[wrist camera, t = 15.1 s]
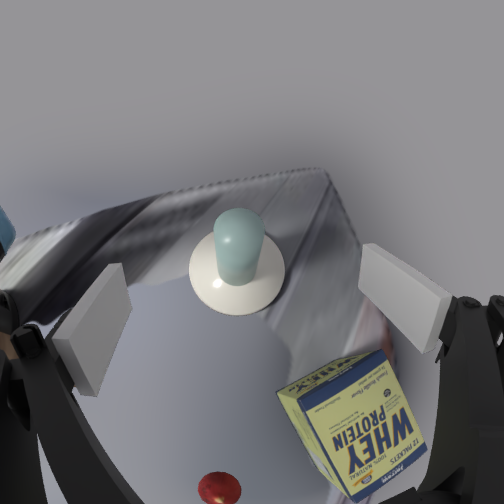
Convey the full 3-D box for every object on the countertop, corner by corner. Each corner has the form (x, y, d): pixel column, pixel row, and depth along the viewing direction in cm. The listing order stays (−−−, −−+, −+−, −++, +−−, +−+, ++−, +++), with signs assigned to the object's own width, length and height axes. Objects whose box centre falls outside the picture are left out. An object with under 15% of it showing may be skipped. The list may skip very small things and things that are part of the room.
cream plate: (187, 315, 40) (186, 313, 39) (193, 228, 47) (192, 225, 46) (286, 315, 41) (287, 313, 40) (280, 230, 48) (281, 226, 47)
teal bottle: (217, 285, 41) (212, 252, 31) (218, 250, 44) (214, 207, 33) (256, 286, 42) (266, 252, 31) (255, 250, 44) (263, 208, 34)
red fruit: (208, 498, 28) (204, 521, 20) (195, 469, 30) (187, 488, 23) (245, 490, 29) (248, 512, 22) (232, 461, 31) (233, 480, 24)
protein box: (332, 358, 39) (383, 346, 25) (371, 435, 33) (430, 451, 19) (272, 390, 36) (297, 399, 22) (316, 469, 31) (357, 507, 17)
